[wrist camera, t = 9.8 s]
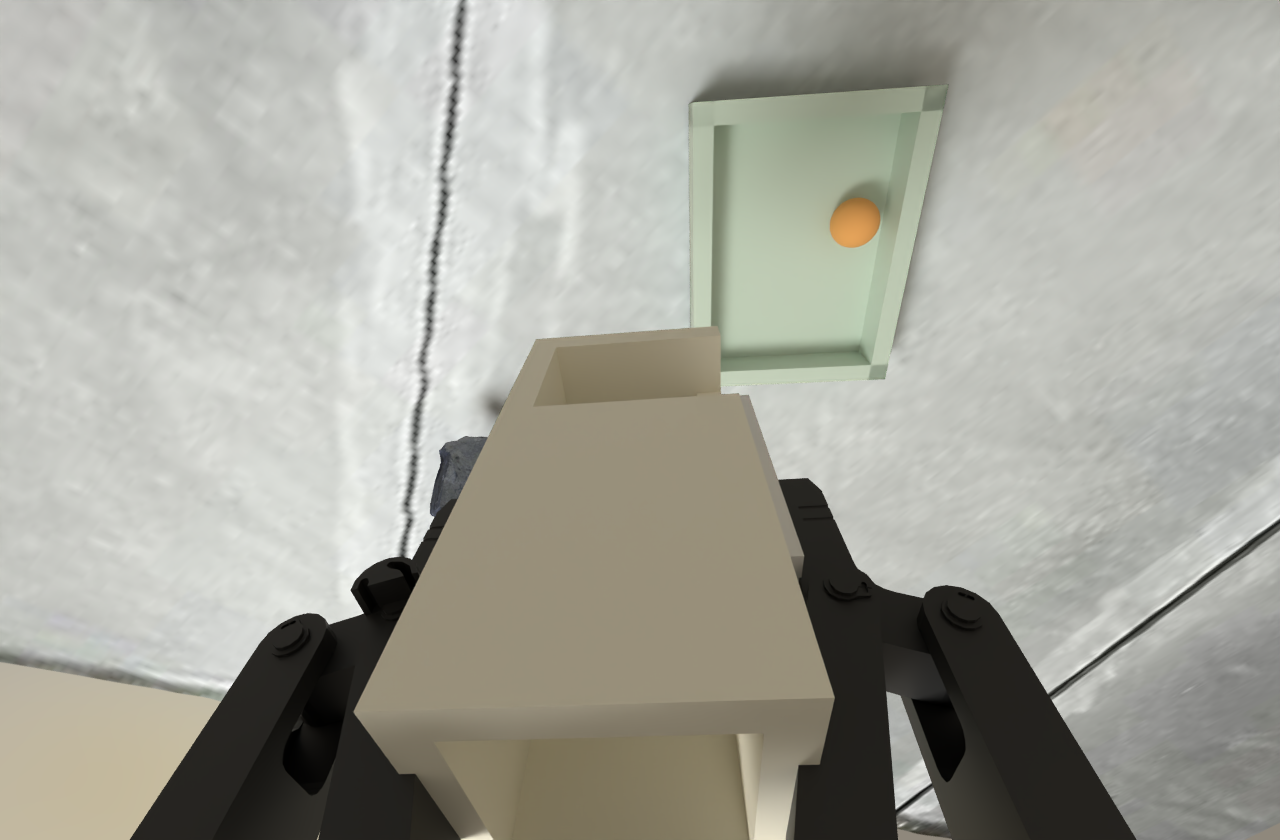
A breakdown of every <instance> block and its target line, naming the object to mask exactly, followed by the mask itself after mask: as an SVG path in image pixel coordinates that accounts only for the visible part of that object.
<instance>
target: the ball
mask: <svg viewBox="0 0 1280 840" xmlns="http://www.w3.org/2000/svg"><path fill="white" fill-rule="evenodd" d="M880 220H881V219H880V212H879V210H878V208H877V206H876V205H875V204H874V203H873V202H872V201H870V200H868V199H865V198H852V199H849V200H847V201H845V202H843V203H842V204H840V205H839V206H838V207H837V208H836V210H835V211H834V213H833V215H832V217H831V220H830V232H831V235H832V237H833V239H834V240H835V241H836V242H837V243H838V244H839V245H841V246H844V247H848V248H855V247H859V246H862V245H864V244H866V243H867V242H869V241H870V240H871V239H872V238H873V237H874V236H875V234H876V233H877V231H878V229H879V226H880Z"/></svg>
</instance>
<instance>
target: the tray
mask: <svg viewBox="0 0 1280 840" xmlns="http://www.w3.org/2000/svg"><path fill="white" fill-rule="evenodd" d="M948 85H949V84H947V85H933V86H918V87H904V88H890V89H876V90H862V91H847V92H833V93H819V94H805V95H791V96H776V97H762V98H748V99H734V100H720V101H705V102H693V103H691V104H689V216H690V328H696V327H710V326H718V328H719V332H720V335H721V386H741V385H764V384H787V383H810V382H833V381H856V380H878V379H885V376H886V371H887V367H888V362H889V358H890V353H891V348H892V344H893V339H894V335H895V330H896V325H897V321H898V316H899V311H900V307H901V302H902V298H903V293H904V288H905V284H906V279H907V274H908V270H909V265H910V261H911V256H912V251H913V247H914V242H915V238H916V233H917V228H918V224H919V219H920V214H921V210H922V205H923V201H924V196H925V191H926V187H927V182H928V178H929V173H930V168H931V164H932V159H933V154H934V150H935V145H936V141H937V136H938V131H939V127H940V122H941V117H942V113H943V108H944V104H945V99H946V94H947V90H948ZM852 198H865V199H868V200H870V201H872V202H873V203H874V204H875V205H876V206H877V208H878V210H879V212H880V219H881V220H880V226H879V229H878V231H877V233H876V234H875V236H874V237H873V238H872V239H871V240H870V241H869V242H867V243H866V244H864V245H862V246H859V247H855V248H848V247H844V246H841V245H839V244H838V243H837V242H836V241H835V240H834V239H833V237H832V235H831V232H830V220H831V217H832V215H833V213H834V211H835V210H836V208H837V207H838V206H839V205H840V204H842V203H843V202H845V201H847V200H849V199H852Z"/></svg>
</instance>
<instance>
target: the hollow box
mask: <svg viewBox="0 0 1280 840" xmlns="http://www.w3.org/2000/svg"><path fill="white" fill-rule="evenodd" d="M834 699H835V697H834V694H833V691H832V687H831V684H830V681H829V678H828V675H827V671H826V668H825V665H824V662H823V659H822V656H821V652H820V649H819V646H818V643H817V640H816V637H815V633H814V630H813V627H812V624H811V621H810V617H809V614H808V611H807V608H806V605H805V602H804V598H803V595H802V592H801V589H800V586H799V583H798V579H797V576H796V573H795V570H794V567H793V563H792V560H791V557H790V554H789V551H788V548H787V544H786V541H785V538H784V535H783V532H782V529H781V525H780V522H779V519H778V516H777V513H776V509H775V506H774V503H773V500H772V497H771V494H770V490H769V487H768V484H767V481H766V478H765V475H764V471H763V468H762V465H761V462H760V459H759V455H758V452H757V449H756V446H755V443H754V440H753V436H752V433H751V430H750V427H749V424H748V421H747V417H746V414H745V411H744V408H743V405H742V401H741V398H740V395H739V393H736V394H721V335H720V332H719V328H718V326H710V327H696V328H683V329H669V330H656V331H642V332H628V333H615V334H601V335H588V336H574V337H560V338H547V339H536V341H535V343H534V345H533V347H532V349H531V351H530V353H529V355H528V357H527V359H526V361H525V363H524V365H523V367H522V369H521V371H520V373H519V375H518V377H517V379H516V381H515V383H514V385H513V387H512V389H511V392H510V394H509V396H508V398H507V400H506V402H505V404H504V406H503V408H502V410H501V412H500V414H499V416H498V418H497V420H496V422H495V424H494V426H493V428H492V430H491V432H490V434H489V436H488V438H487V440H486V443H485V445H484V447H483V449H482V451H481V453H480V455H479V457H478V459H477V461H476V463H475V465H474V467H473V469H472V471H471V473H470V475H469V477H468V479H467V481H466V483H465V485H464V487H463V489H462V491H461V493H460V496H459V498H458V500H457V502H456V504H455V506H454V508H453V510H452V512H451V514H450V516H449V518H448V520H447V522H446V524H445V526H444V528H443V530H442V532H441V534H440V536H439V538H438V540H437V542H436V544H435V547H434V549H433V551H432V553H431V555H430V557H429V559H428V561H427V563H426V565H425V567H424V569H423V571H422V573H421V575H420V577H419V579H418V581H417V583H416V585H415V587H414V589H413V591H412V593H411V595H410V597H409V600H408V602H407V604H406V606H405V608H404V610H403V612H402V614H401V616H400V618H399V620H398V622H397V624H396V626H395V628H394V630H393V632H392V634H391V636H390V638H389V640H388V642H387V644H386V646H385V648H384V651H383V653H382V655H381V657H380V659H379V661H378V663H377V665H376V667H375V669H374V671H373V673H372V675H371V677H370V679H369V681H368V683H367V685H366V687H365V689H364V691H363V693H362V695H361V697H360V699H359V702H358V704H357V706H356V708H355V710H354V714H355V715H356V716H357V718H358V719H359V720H360V722H361V723H362V724H363V726H364V727H365V729H366V730H367V731H368V733H369V734H370V735H371V737H372V738H373V739H374V741H375V742H376V744H377V745H378V746H379V748H380V749H381V750H382V752H383V753H384V754H385V756H386V757H387V758H388V760H389V761H390V763H391V764H392V765H393V767H394V768H395V769H396V771H397V772H398V773H399V774H416V775H417V777H418V778H419V780H420V781H421V783H422V784H423V786H424V787H425V788H426V790H427V791H428V793H429V794H430V796H431V797H432V798H433V800H434V801H435V803H436V804H437V806H438V807H439V809H440V810H441V811H442V813H443V814H444V816H445V817H446V819H447V820H448V821H449V823H450V824H451V826H452V827H453V829H454V830H455V831H456V833H457V834H458V836H459V837H460V839H461V840H786V832H787V826H788V821H789V815H790V810H791V804H792V798H793V793H794V787H795V782H796V776H797V770H798V765H820V761H821V756H822V752H823V747H824V743H825V739H826V734H827V730H828V725H829V721H830V717H831V712H832V708H833V703H834Z"/></svg>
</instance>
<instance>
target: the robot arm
mask: <svg viewBox="0 0 1280 840" xmlns="http://www.w3.org/2000/svg"><path fill="white" fill-rule="evenodd" d="M740 398H741V401H742V405H743V408H744V411H745V414H746V417H747V421H748V424H749V427H750V430H751V433H752V436H753V440H754V443H755V446H756V449H757V452H758V455H759V459H760V462H761V465H762V468H763V471H764V475H765V478H766V481H767V484H768V487H769V490H770V494H771V497H772V500H773V503H774V506H775V509H776V513H777V516H778V519H779V522H780V525H781V529H782V532H783V535H784V538H785V541H786V544H787V548H788V551H789V554H790V557H791V560H792V563H793V567H794V570H795V573H796V576H797V579H798V583H799V586H800V589H801V592H802V595H803V598H804V602H805V605H806V608H807V611H808V614H809V617H810V621H811V624H812V627H813V630H814V633H815V637H816V640H817V643H818V646H819V649H820V652H821V656H822V659H823V662H824V665H825V668H826V671H827V675H828V678H829V681H830V684H831V687H832V691H833V694H834V697H835V699H834V703H833V708H832V712H831V717H830V721H829V725H828V730H827V734H826V739H825V743H824V747H823V752H822V756H821V761H820V765H798V770H797V776H796V782H795V787H794V793H793V798H792V804H791V810H790V815H789V821H788V826H787V832H786V840H898V834H897V822H896V809H895V797H894V784H893V772H892V759H891V747H890V734H889V722H888V709H887V697H886V691H887V692H891V693H894V694H898V695H901V698H902V701H903V704H904V706H905V709H906V712H907V715H908V717H909V720H910V723H911V726H912V729H913V731H914V734H915V737H916V740H917V743H918V745H919V748H920V751H921V754H922V756H923V759H924V762H925V765H926V768H927V770H928V773H929V776H930V779H931V782H932V784H933V787H934V790H935V793H936V795H937V798H938V801H939V804H940V807H941V809H942V812H943V815H944V818H945V821H946V823H947V826H948V829H949V832H950V834H951V837H952V840H1136V838H1135V836H1134V835H1133V833H1132V832H1131V830H1130V828H1129V827H1128V825H1127V823H1126V822H1125V820H1124V818H1123V817H1122V815H1121V813H1120V812H1119V810H1118V809H1117V807H1116V805H1115V804H1114V802H1113V800H1112V799H1111V797H1110V795H1109V794H1108V792H1107V791H1106V789H1105V787H1104V786H1103V784H1102V782H1101V781H1100V779H1099V777H1098V776H1097V774H1096V772H1095V771H1094V769H1093V768H1092V766H1091V764H1090V763H1089V761H1088V759H1087V758H1086V756H1085V754H1084V753H1083V751H1082V750H1081V748H1080V746H1079V745H1078V743H1077V741H1076V740H1075V738H1074V736H1073V735H1072V733H1071V731H1070V730H1069V728H1068V727H1067V725H1066V723H1065V722H1064V720H1063V718H1062V717H1061V715H1060V713H1059V712H1058V710H1057V709H1056V707H1055V705H1054V704H1053V702H1052V700H1051V699H1050V697H1049V695H1048V694H1047V692H1046V690H1045V689H1044V687H1043V686H1042V684H1041V682H1040V681H1039V679H1038V677H1037V676H1036V674H1035V672H1034V671H1033V669H1032V668H1031V666H1030V664H1029V663H1028V661H1027V659H1026V658H1025V656H1024V654H1023V653H1022V651H1021V649H1020V648H1019V646H1018V645H1017V643H1016V641H1015V640H1014V638H1013V636H1012V635H1011V633H1010V631H1009V630H1008V628H1007V627H1006V625H1005V623H1004V622H1003V620H1002V618H1001V617H1000V615H999V614H998V612H997V611H996V610H995V609H994V608H993V607H992V605H991V604H990V603H989V602H987V601H986V600H985V599H983V598H982V597H980V596H979V595H977V594H976V593H973V592H971V591H969V590H966V589H964V588H961V587H955V586H948V585H945V586H938V587H934V588H932V589H931V590H929V591H928V592H926V594H925V596H924V598H920V597H915V596H910V595H906V594H901V593H897V592H893V591H890V590H887V589H884V588H882V587H880V586H878V585H876V584H874V582H873V581H872V580H871V579H870V578H869V577H868V575H867V574H865V573H864V572H862V571H860V570H859V569H857V567H856V566H855V564H854V562H853V560H852V557H851V555H850V553H849V551H848V549H847V546H846V544H845V542H844V540H843V537H842V535H841V533H840V531H839V529H838V526H837V524H836V522H835V520H834V519H833V515H832V513H831V511H830V509H829V508H828V504H827V502H826V500H825V497H824V495H823V493H822V491H821V490H820V489H819V488H818V487H817V486H816V485H815V484H814V483H813V482H811V481H810V480H809V479H808V478H802V479H784V480H778V479H777V476H776V473H775V470H774V467H773V464H772V461H771V458H770V455H769V453H768V450H767V447H766V444H765V441H764V438H763V435H762V432H761V429H760V426H759V424H758V421H757V418H756V415H755V412H754V409H753V406H752V403H751V400H750V398H749V395H740ZM457 500H458V499H451V500H450V501H449V502H448V503H446V504H445V505H444V506H443V507H442V508H441V509H440V510H439V511H438V512H437V514H436V516H435V517H434V519H433V521H432V523H431V525H430V530H428V531H427V533H426V535H425V536H424V538H423V542H421V544H420V546H419V548H418V550H417V552H416V554H415V555H414V557H413V559H412V560H411V559H410V558H405V557H394V558H388V559H385V560H383V561H380V562H378V563H376V564H374V565H373V566H371V567H369V568H368V569H366V570H365V571H364V572H363V573H362V574H361V575H360V576H359V577H358V578H357V579H356V580H355V582H354V584H353V586H352V588H351V592H352V594H353V595H354V597H355V599H356V600H357V602H358V604H359V605H360V607H361V609H362V610H363V612H364V614H362V615H359V616H356V617H353V618H349V619H346V620H343V621H340V622H336V623H333V624H330V625H329V624H328V623H327V621H326V620H325V619H324V618H323V617H322V616H320V615H319V614H312V613H307V614H303V615H298V616H295V617H293V618H291V619H289V620H287V621H285V622H283V623H281V624H280V625H278V626H277V627H276V628H274V629H273V630H272V631H271V632H269V633H268V634H267V636H266V637H265V638H264V639H263V640H262V641H261V643H260V644H259V645H258V647H257V648H256V650H255V651H254V653H253V654H252V656H251V657H250V659H249V660H248V662H247V663H246V665H245V666H244V668H243V669H242V671H241V672H240V674H239V675H238V677H237V679H236V680H235V682H234V683H233V685H232V686H231V688H230V689H229V691H228V692H227V694H226V695H225V697H224V698H223V700H222V701H221V703H220V704H219V706H218V707H217V709H216V710H215V712H214V713H213V715H212V716H211V718H210V719H209V721H208V722H207V724H206V725H205V727H204V728H203V730H202V731H201V733H200V734H199V736H198V737H197V739H196V740H195V742H194V744H193V745H192V747H191V749H189V751H188V753H187V754H186V756H185V757H184V759H183V760H182V762H181V763H180V765H179V766H178V768H177V769H176V771H175V772H174V774H173V775H172V777H171V778H170V780H169V781H168V783H167V785H166V786H165V787H164V789H163V790H162V792H161V793H160V795H159V796H158V798H157V799H156V801H155V802H154V804H153V805H152V807H151V809H150V810H149V811H148V813H147V814H146V816H145V817H144V819H143V821H142V822H141V824H140V825H139V826H138V828H137V830H136V831H135V833H134V834H133V836H132V837H131V839H130V840H317V837H318V835H319V839H318V840H461V839H460V837H459V836H458V834H457V833H456V831H455V830H454V829H453V827H452V826H451V824H450V823H449V821H448V820H447V819H446V817H445V816H444V814H443V813H442V811H441V810H440V809H439V807H438V806H437V804H436V803H435V801H434V800H433V798H432V797H431V796H430V794H429V793H428V791H427V790H426V788H425V787H424V786H423V784H422V783H421V781H420V780H419V778H418V777H417V775H416V774H399V773H398V772H397V771H396V769H395V768H394V767H393V765H392V764H391V763H390V761H389V760H388V758H387V757H386V756H385V754H384V753H383V752H382V750H381V749H380V748H379V746H378V745H377V744H376V742H375V741H374V739H373V738H372V737H371V735H370V734H369V733H368V731H367V730H366V729H365V727H364V726H363V724H362V723H361V722H360V720H359V719H358V718H357V716H356V715H355V714H354V710H355V708H356V706H357V704H358V702H359V699H360V697H361V695H362V693H363V691H364V689H365V687H366V685H367V683H368V681H369V679H370V677H371V675H372V673H373V671H374V669H375V667H376V665H377V663H378V661H379V659H380V657H381V655H382V653H383V651H384V648H385V646H386V644H387V642H388V640H389V638H390V636H391V634H392V632H393V630H394V628H395V626H396V624H397V622H398V620H399V618H400V616H401V614H402V612H403V610H404V608H405V606H406V604H407V602H408V600H409V597H410V595H411V593H412V591H413V589H414V587H415V585H416V583H417V581H418V579H419V577H420V575H421V573H422V571H423V569H424V567H425V565H426V563H427V561H428V559H429V557H430V555H431V553H432V551H433V549H434V547H435V544H436V542H437V540H438V538H439V536H440V534H441V532H442V530H443V528H444V526H445V524H446V522H447V520H448V518H449V516H450V514H451V512H452V510H453V508H454V506H455V504H456V502H457ZM319 832H320V834H319Z"/></svg>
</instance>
